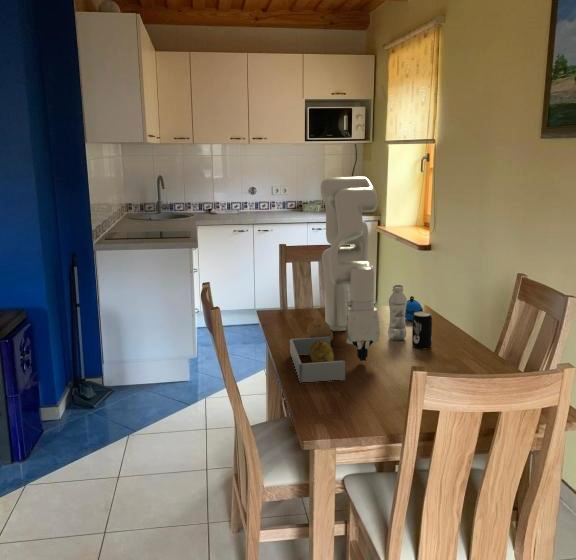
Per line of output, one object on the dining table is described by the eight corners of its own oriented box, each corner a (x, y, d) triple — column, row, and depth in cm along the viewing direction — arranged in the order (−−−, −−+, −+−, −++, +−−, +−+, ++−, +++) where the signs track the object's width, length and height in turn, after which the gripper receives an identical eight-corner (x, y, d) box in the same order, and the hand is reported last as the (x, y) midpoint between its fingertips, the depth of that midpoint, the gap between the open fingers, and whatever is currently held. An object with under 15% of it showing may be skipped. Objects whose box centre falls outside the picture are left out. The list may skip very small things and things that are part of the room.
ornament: (410, 324, 221) (411, 300, 219) (396, 319, 228) (396, 295, 226) (427, 320, 225) (427, 296, 223) (412, 316, 232) (413, 292, 230)
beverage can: (431, 350, 192) (432, 316, 189) (412, 349, 193) (412, 316, 191) (431, 343, 198) (431, 311, 196) (412, 343, 200) (412, 310, 197)
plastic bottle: (384, 338, 205) (384, 285, 201) (399, 335, 208) (400, 283, 204) (394, 343, 200) (394, 289, 195) (410, 340, 202) (411, 286, 198)
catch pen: (290, 355, 191) (289, 339, 189) (330, 353, 192) (329, 336, 191) (299, 383, 167) (299, 364, 166) (345, 380, 169) (345, 361, 168)
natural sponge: (302, 343, 202) (302, 317, 200) (325, 340, 205) (325, 314, 203) (312, 351, 194) (311, 324, 192) (335, 348, 197) (335, 320, 195)
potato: (307, 374, 174) (306, 350, 172) (311, 360, 186) (310, 337, 185) (333, 375, 173) (333, 351, 171) (336, 360, 185) (336, 337, 183)
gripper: (341, 309, 173) (342, 365, 177) (388, 306, 174) (388, 362, 178) (336, 303, 180) (337, 357, 184) (382, 300, 182) (381, 353, 186)
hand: (362, 359), depth 181 cm, fingers closed
